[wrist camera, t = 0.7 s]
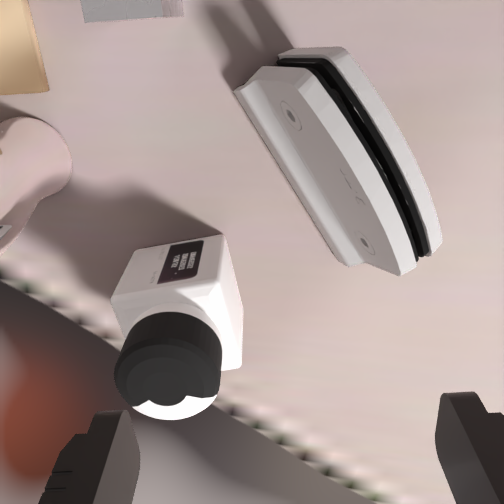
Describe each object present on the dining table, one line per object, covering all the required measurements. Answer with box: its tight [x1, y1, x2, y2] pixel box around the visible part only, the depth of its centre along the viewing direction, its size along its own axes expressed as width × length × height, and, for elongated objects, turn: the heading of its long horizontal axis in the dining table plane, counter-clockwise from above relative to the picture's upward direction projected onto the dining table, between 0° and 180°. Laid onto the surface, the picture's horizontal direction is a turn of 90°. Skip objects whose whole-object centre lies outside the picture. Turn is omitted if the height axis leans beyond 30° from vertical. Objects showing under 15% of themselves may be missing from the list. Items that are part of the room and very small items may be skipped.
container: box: [110, 235, 243, 420], centre depth 34 cm, size 8×8×13 cm
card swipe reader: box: [233, 47, 443, 276], centre depth 32 cm, size 17×5×10 cm, turn 32°
